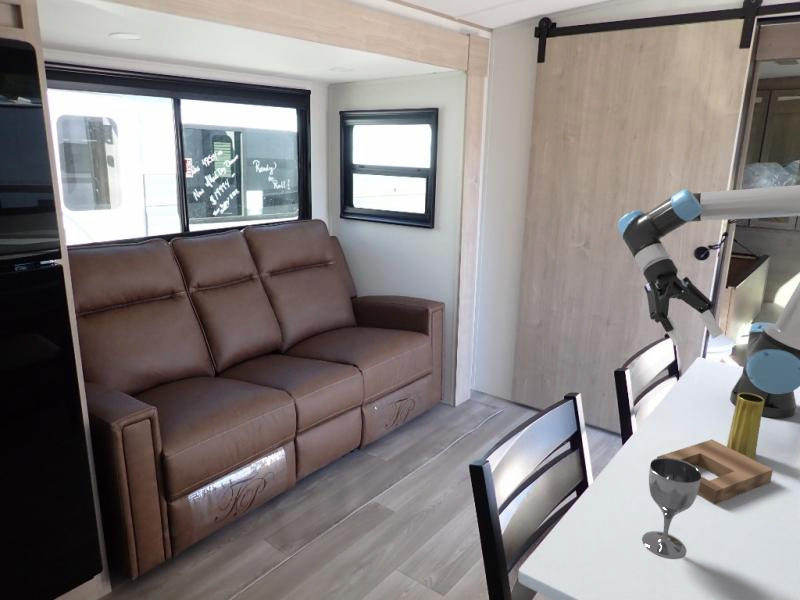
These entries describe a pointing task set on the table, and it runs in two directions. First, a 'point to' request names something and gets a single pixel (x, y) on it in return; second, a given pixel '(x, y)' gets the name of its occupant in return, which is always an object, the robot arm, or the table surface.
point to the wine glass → (671, 501)
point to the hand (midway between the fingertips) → (699, 339)
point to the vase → (746, 424)
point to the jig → (723, 470)
